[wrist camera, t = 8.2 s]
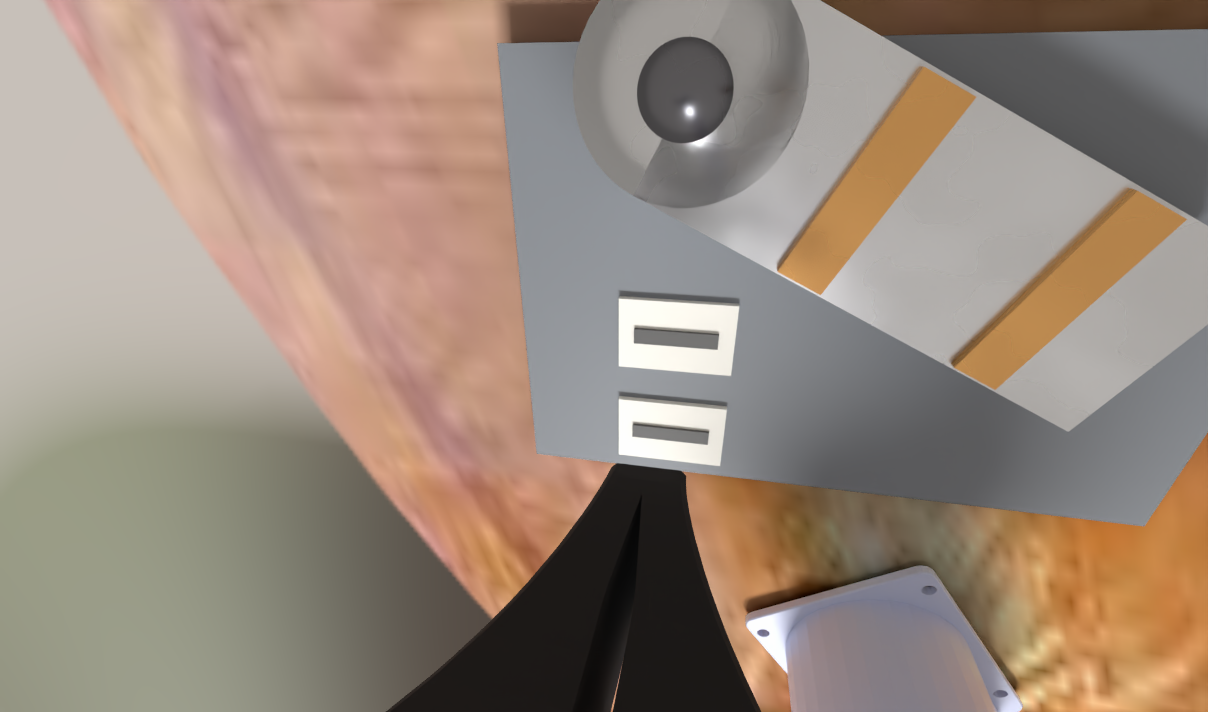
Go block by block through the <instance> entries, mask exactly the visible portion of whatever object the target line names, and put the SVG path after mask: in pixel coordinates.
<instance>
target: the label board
mask: <svg viewBox="0 0 1208 712" xmlns="http://www.w3.org/2000/svg"><path fill="white" fill-rule="evenodd" d="M882 37H884V38H886V39H888V40H889V41H891V42H893V43H895V44H896V45H898V46H900V47H901V48H903V49H905V50H907V51H908V52H910V53H912V54H913V55H915V56H917V57H919V58H920V59H922V60H924V61H925V62H927V63H929V64H931V65H932V66H934V67H936V68H937V69H939V70H941V71H943V72H944V73H946V74H948V75H949V76H951V77H953V78H955V79H956V80H958V81H960V82H962V83H963V84H965V85H967V86H968V87H970V88H972V89H974V90H975V91H977V92H979V93H980V94H982V95H984V96H986V97H987V98H989V99H991V100H992V101H994V102H996V103H998V104H999V105H1001V106H1003V107H1004V108H1006V109H1008V110H1010V111H1011V112H1013V113H1015V114H1017V115H1018V116H1020V117H1022V118H1023V119H1025V120H1027V121H1029V122H1030V123H1032V124H1034V125H1035V126H1037V127H1039V128H1041V129H1042V130H1044V131H1046V132H1047V133H1049V134H1051V135H1053V136H1054V137H1056V138H1058V139H1059V140H1061V141H1063V142H1065V143H1066V144H1068V145H1070V146H1071V147H1073V148H1075V149H1077V150H1078V151H1080V152H1082V153H1084V154H1085V155H1087V156H1089V157H1090V158H1092V159H1094V160H1096V161H1097V162H1099V163H1101V164H1102V165H1104V166H1106V167H1108V168H1109V169H1111V170H1113V171H1114V172H1116V173H1118V174H1120V175H1121V176H1123V177H1125V178H1126V179H1128V180H1130V181H1132V182H1133V183H1135V184H1137V185H1138V186H1140V187H1142V188H1144V189H1145V190H1147V191H1149V192H1151V193H1152V194H1154V195H1156V196H1157V197H1159V198H1161V199H1163V200H1164V201H1166V202H1168V203H1169V204H1171V205H1173V206H1175V207H1176V208H1178V209H1180V210H1181V211H1183V212H1185V213H1187V214H1188V215H1190V216H1192V217H1193V218H1195V219H1197V220H1199V221H1200V222H1202V223H1204V224H1205V225H1207V226H1208V29H1188V30H1138V31H1088V32H1039V33H989V34H939V35H890V36H882ZM497 45H498V55H499V65H500V76H501V86H502V97H503V107H504V117H505V128H506V138H507V149H508V159H509V170H510V180H511V190H512V201H513V211H514V222H515V232H516V242H517V253H518V263H519V274H520V284H521V294H522V305H523V315H524V326H525V336H526V346H527V357H528V367H529V378H530V388H531V399H532V409H533V419H534V430H535V440H536V451H537V454H543V455H552V456H560V457H569V458H577V459H585V460H594V461H602V462H610V463H621V464H630V465H638V466H647V467H655V468H663V469H672V470H680V471H686V472H694V473H702V474H711V475H719V476H728V477H736V478H744V479H753V480H761V481H769V482H778V483H786V484H794V485H803V486H811V487H820V488H828V489H836V490H845V491H853V492H861V493H870V494H878V495H887V496H895V497H903V498H912V499H920V500H928V501H937V502H945V503H953V504H962V505H970V506H979V507H987V508H995V509H1004V510H1012V511H1020V512H1029V513H1037V514H1046V515H1054V516H1062V517H1071V518H1079V519H1087V520H1096V521H1104V522H1112V523H1121V524H1129V525H1138V526H1145V524H1146V523H1147V521H1148V520H1149V519H1150V517H1151V516H1152V514H1153V513H1154V511H1155V510H1156V508H1157V507H1158V505H1159V504H1160V502H1161V501H1162V499H1163V498H1164V496H1165V495H1166V493H1167V492H1168V490H1169V489H1170V487H1171V486H1172V484H1173V483H1174V481H1175V480H1176V478H1177V477H1178V475H1179V474H1180V472H1181V471H1182V470H1183V468H1184V467H1185V465H1186V464H1187V462H1188V461H1189V459H1190V458H1191V456H1192V455H1193V453H1194V452H1195V450H1196V449H1197V447H1198V446H1199V444H1200V443H1201V441H1202V440H1203V438H1204V437H1205V435H1206V434H1207V432H1208V325H1206V326H1205V327H1204V328H1203V329H1201V330H1200V331H1199V332H1197V333H1196V334H1195V335H1193V336H1192V337H1191V338H1190V339H1188V340H1187V341H1186V342H1184V343H1183V344H1182V345H1180V346H1179V347H1178V348H1177V349H1175V350H1174V351H1173V352H1171V353H1170V354H1169V355H1168V356H1166V357H1165V358H1164V359H1162V360H1161V361H1160V362H1158V363H1157V364H1156V365H1155V366H1153V367H1152V368H1151V369H1149V370H1148V371H1147V372H1145V373H1144V374H1143V375H1142V376H1140V377H1139V378H1138V379H1136V380H1135V381H1134V382H1132V383H1131V384H1130V385H1129V386H1127V387H1126V388H1125V389H1123V390H1122V391H1121V392H1119V393H1118V394H1117V395H1116V396H1114V397H1113V398H1112V399H1110V400H1109V401H1108V402H1106V403H1105V404H1104V405H1103V406H1101V407H1100V408H1099V409H1097V410H1096V411H1095V412H1094V413H1092V414H1091V415H1090V416H1088V417H1087V418H1086V419H1084V420H1083V421H1082V422H1081V423H1079V424H1078V425H1077V426H1075V427H1074V428H1073V429H1071V430H1070V431H1069V432H1068V431H1066V430H1064V429H1062V428H1060V427H1058V426H1057V425H1055V424H1053V423H1051V422H1049V421H1047V420H1045V419H1044V418H1042V417H1040V416H1038V415H1036V414H1034V413H1033V412H1031V411H1029V410H1027V409H1025V408H1023V407H1022V406H1020V405H1018V404H1016V403H1014V402H1012V401H1010V400H1009V399H1007V398H1005V397H1003V396H1001V395H999V394H998V393H996V392H994V391H992V390H990V389H988V388H987V387H985V386H983V385H981V384H979V383H977V382H975V381H974V380H972V379H970V378H968V377H966V376H964V375H963V374H961V373H959V372H957V371H955V370H953V369H951V368H950V367H948V366H946V365H944V364H942V363H940V362H939V361H937V360H935V359H933V358H931V357H929V356H928V355H926V354H924V353H922V352H920V351H918V350H916V349H915V348H913V347H911V346H909V345H907V344H905V343H904V342H902V341H900V340H898V339H896V338H894V337H893V336H891V335H889V334H887V333H885V332H883V331H881V330H880V329H878V328H876V327H874V326H872V325H870V324H869V323H867V322H865V321H863V320H861V319H859V318H858V317H856V316H854V315H852V314H850V313H848V312H846V311H845V310H843V309H841V308H839V307H837V306H835V305H834V304H832V303H830V302H828V301H826V300H824V299H823V298H821V297H819V296H817V295H815V294H813V293H811V292H810V291H808V290H806V289H804V288H802V287H800V286H799V285H797V284H795V283H793V282H791V281H789V280H787V279H786V278H784V277H782V276H780V275H778V274H776V273H775V272H773V271H771V270H769V269H767V268H765V267H764V266H762V265H760V264H758V263H756V262H754V261H752V260H751V259H749V258H747V257H745V256H743V255H741V254H740V253H738V252H736V251H734V250H732V249H730V248H729V247H727V246H725V245H723V244H721V243H719V242H717V241H716V240H714V239H712V238H710V237H708V236H706V235H705V234H703V233H701V232H699V231H697V230H695V229H694V228H692V227H690V226H688V225H686V224H684V223H682V222H681V221H679V220H677V219H675V218H673V217H671V216H670V215H668V214H666V213H664V212H662V211H660V210H659V209H657V208H655V207H653V206H651V205H649V204H647V203H646V202H644V201H642V200H640V199H638V198H636V197H635V196H633V195H631V194H630V193H628V192H626V191H625V190H623V189H622V188H620V187H619V186H618V185H617V184H616V183H614V182H613V181H612V180H611V179H610V178H609V177H608V176H607V175H606V174H605V173H604V172H603V171H602V170H601V168H600V167H599V166H598V164H597V163H596V161H595V160H594V159H593V157H592V155H591V154H590V152H589V150H588V148H587V146H586V145H585V142H584V140H583V137H582V135H581V132H580V129H579V126H578V122H577V119H576V114H575V108H574V101H573V72H574V64H575V58H576V53H577V49H578V46H579V42H542V43H497Z"/></svg>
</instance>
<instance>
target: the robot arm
mask: <svg viewBox="0 0 1208 712" xmlns="http://www.w3.org/2000/svg"><path fill="white" fill-rule="evenodd" d="M745 621H746V627H747V628H748V629H749V631H750V632H751V633H752V634H753V635H754V636H755V637H756V639H757V640H758V641H759V642H760V643H761V644H762V646H763V647H764V648H765V649H766V650H767V651H768V652H769V654H770V655H771V656H772V657H773V658H774V659H775V660H776V662H777V663H778V664H779V665H780V666H781V667H782V668H783V670H784V671H785V672H786V673H787V674H788V683H789V692H790V702H791V712H1018V711H1020V710H1021V709H1022V707H1023V705H1022V703H1021V700H1020V698H1019V696H1018V695H1017V693H1016V692H1015V690H1014V689H1013V687H1012V686H1011V684H1010V683H1009V681H1008V680H1007V678H1006V677H1005V675H1004V674H1003V672H1002V671H1001V669H1000V668H999V666H998V665H997V663H996V662H995V660H994V659H993V658H992V656H991V655H990V653H989V652H988V650H987V649H986V647H985V646H984V644H983V643H982V641H981V640H980V638H979V637H978V635H977V634H976V632H975V631H974V629H973V628H972V626H971V625H970V623H969V622H968V620H967V619H966V617H965V616H964V614H963V613H962V611H961V610H960V608H959V607H958V605H957V604H956V603H955V601H954V600H953V598H952V597H951V595H950V594H949V592H948V591H947V589H946V588H945V586H944V585H943V583H942V582H941V580H940V579H939V577H938V576H937V574H936V573H935V571H934V570H933V569H932V568H930V567H927V566H922V565H919V566H914V567H910V568H907V569H903V570H899V571H896V572H892V573H889V574H885V575H882V576H878V577H874V578H871V579H867V580H864V581H860V582H857V583H853V584H849V585H846V586H842V587H839V588H835V589H832V590H828V591H824V592H821V593H817V594H814V595H810V596H807V597H803V598H799V599H796V600H792V601H789V602H785V603H782V604H778V605H774V606H771V607H767V608H764V609H760V610H756V611H753V612H750V613H748V614H747V615H746V618H745ZM623 658H624V659H623ZM622 662H623V664H622ZM621 666H622V669H621ZM620 670H621V674H620ZM619 674H620V679H619ZM618 679H619V684H618V689H617V694H616V699H615V704H614V709H613V712H761V710H760V708H759V706H758V704H757V702H756V700H755V697H754V695H753V693H752V691H751V689H750V687H749V684H748V682H747V680H746V678H745V676H744V674H743V671H742V669H741V667H740V664H739V662H738V660H737V657H736V655H735V653H734V650H733V648H732V646H731V643H730V641H729V638H728V636H727V633H726V631H725V628H724V626H723V623H722V621H721V618H720V615H719V613H718V610H717V607H716V604H715V601H714V599H713V596H712V593H711V590H710V587H709V584H708V581H707V578H706V575H705V572H704V568H703V565H702V561H701V558H700V554H699V551H698V547H697V544H696V540H695V536H694V532H693V528H692V523H691V518H690V514H689V508H688V502H687V494H686V476H685V475H684V473H683V472H682V471H680V470H672V469H663V468H655V467H647V466H638V465H630V464H621V463H617V464H615V465H614V466H613V467H612V468H611V469H610V471H609V473H608V475H607V477H606V479H605V480H604V482H603V484H602V485H601V487H600V489H599V490H598V492H597V493H596V495H595V496H594V498H593V499H592V501H591V502H590V504H589V505H588V507H587V508H586V510H585V511H584V513H583V514H582V515H581V517H580V518H579V519H578V521H577V522H576V523H575V525H574V526H573V527H572V529H571V530H570V531H569V533H568V534H567V535H566V537H565V538H564V539H563V541H562V542H561V543H560V545H559V546H558V547H557V548H556V550H555V551H554V552H553V553H552V554H551V555H550V557H549V558H548V559H547V560H546V561H545V563H544V564H543V565H542V566H541V567H540V569H539V570H538V571H537V572H536V573H535V574H534V576H533V577H532V578H531V579H530V580H529V581H528V583H527V584H526V585H525V586H524V587H523V588H522V589H521V590H520V591H519V592H518V593H517V595H516V596H515V597H514V598H513V599H512V600H511V601H510V602H509V603H508V604H507V605H506V606H505V607H504V608H503V609H502V610H501V611H500V612H499V613H498V614H497V615H496V616H495V617H494V618H493V619H492V620H491V621H490V622H489V623H488V624H487V625H486V626H485V627H484V628H483V629H482V630H481V631H480V632H479V633H478V634H477V635H476V636H475V637H474V638H472V639H471V640H470V641H469V642H468V643H467V644H466V645H465V646H464V647H463V648H462V649H461V650H459V651H458V652H457V653H456V654H455V655H454V656H453V657H452V658H451V659H449V660H448V661H447V662H446V663H445V664H444V665H443V666H441V667H440V668H439V669H438V670H437V671H436V672H435V673H434V674H432V675H431V676H430V677H429V678H427V679H426V680H425V681H424V682H422V683H421V684H420V685H419V686H417V687H416V688H415V689H414V690H412V691H411V692H410V693H409V694H407V695H406V696H405V697H404V698H402V699H401V700H400V701H399V702H397V703H396V704H395V705H394V706H392V708H390V709H389V710H388V711H386V712H611V708H612V703H613V699H614V695H615V691H616V687H617V683H618Z"/></svg>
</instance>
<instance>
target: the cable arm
mask: <svg viewBox="0 0 1208 712" xmlns="http://www.w3.org/2000/svg"><path fill="white" fill-rule="evenodd" d="M573 101H574V108H575V114H576V119H577V122H578V126H579V129H580V132H581V135H582V137H583V140H584V142H585V145H586V146H587V148H588V150H589V152H590V154H591V155H592V157H593V159H594V160H595V161H596V163H597V164H598V166H599V167H600V168H601V170H602V171H603V172H604V173H605V174H606V175H607V176H608V177H609V178H610V179H611V180H612V181H613V182H614V183H616V184H617V185H618V186H619V187H620V188H622V189H623V190H625V191H626V192H628V193H630V194H631V195H633V196H635V197H636V198H638V199H640V200H642V201H644V202H646V203H647V204H649V205H651V206H653V207H655V208H657V209H659V210H660V211H662V212H664V213H666V214H668V215H670V216H671V217H673V218H675V219H677V220H679V221H681V222H682V223H684V224H686V225H688V226H690V227H692V228H694V229H695V230H697V231H699V232H701V233H703V234H705V235H706V236H708V237H710V238H712V239H714V240H716V241H717V242H719V243H721V244H723V245H725V246H727V247H729V248H730V249H732V250H734V251H736V252H738V253H740V254H741V255H743V256H745V257H747V258H749V259H751V260H752V261H754V262H756V263H758V264H760V265H762V266H764V267H765V268H767V269H769V270H771V271H773V272H775V273H776V274H778V275H780V276H782V277H784V278H786V279H787V280H789V281H791V282H793V283H795V284H797V285H799V286H800V287H802V288H804V289H806V290H808V291H810V292H811V293H813V294H815V295H817V296H819V297H821V298H823V299H824V300H826V301H828V302H830V303H832V304H834V305H835V306H837V307H839V308H841V309H843V310H845V311H846V312H848V313H850V314H852V315H854V316H856V317H858V318H859V319H861V320H863V321H865V322H867V323H869V324H870V325H872V326H874V327H876V328H878V329H880V330H881V331H883V332H885V333H887V334H889V335H891V336H893V337H894V338H896V339H898V340H900V341H902V342H904V343H905V344H907V345H909V346H911V347H913V348H915V349H916V350H918V351H920V352H922V353H924V354H926V355H928V356H929V357H931V358H933V359H935V360H937V361H939V362H940V363H942V364H944V365H946V366H948V367H950V368H951V369H953V370H955V371H957V372H959V373H961V374H963V375H964V376H966V377H968V378H970V379H972V380H974V381H975V382H977V383H979V384H981V385H983V386H985V387H987V388H988V389H990V390H992V391H994V392H996V393H998V394H999V395H1001V396H1003V397H1005V398H1007V399H1009V400H1010V401H1012V402H1014V403H1016V404H1018V405H1020V406H1022V407H1023V408H1025V409H1027V410H1029V411H1031V412H1033V413H1034V414H1036V415H1038V416H1040V417H1042V418H1044V419H1045V420H1047V421H1049V422H1051V423H1053V424H1055V425H1057V426H1058V427H1060V428H1062V429H1064V430H1066V431H1068V432H1069V431H1070V430H1071V429H1073V428H1074V427H1075V426H1077V425H1078V424H1079V423H1081V422H1082V421H1083V420H1084V419H1086V418H1087V417H1088V416H1090V415H1091V414H1092V413H1094V412H1095V411H1096V410H1097V409H1099V408H1100V407H1101V406H1103V405H1104V404H1105V403H1106V402H1108V401H1109V400H1110V399H1112V398H1113V397H1114V396H1116V395H1117V394H1118V393H1119V392H1121V391H1122V390H1123V389H1125V388H1126V387H1127V386H1129V385H1130V384H1131V383H1132V382H1134V381H1135V380H1136V379H1138V378H1139V377H1140V376H1142V375H1143V374H1144V373H1145V372H1147V371H1148V370H1149V369H1151V368H1152V367H1153V366H1155V365H1156V364H1157V363H1158V362H1160V361H1161V360H1162V359H1164V358H1165V357H1166V356H1168V355H1169V354H1170V353H1171V352H1173V351H1174V350H1175V349H1177V348H1178V347H1179V346H1180V345H1182V344H1183V343H1184V342H1186V341H1187V340H1188V339H1190V338H1191V337H1192V336H1193V335H1195V334H1196V333H1197V332H1199V331H1200V330H1201V329H1203V328H1204V327H1205V326H1206V325H1208V226H1207V225H1205V224H1204V223H1202V222H1200V221H1199V220H1197V219H1195V218H1193V217H1192V216H1190V215H1188V214H1187V213H1185V212H1183V211H1181V210H1180V209H1178V208H1176V207H1175V206H1173V205H1171V204H1169V203H1168V202H1166V201H1164V200H1163V199H1161V198H1159V197H1157V196H1156V195H1154V194H1152V193H1151V192H1149V191H1147V190H1145V189H1144V188H1142V187H1140V186H1138V185H1137V184H1135V183H1133V182H1132V181H1130V180H1128V179H1126V178H1125V177H1123V176H1121V175H1120V174H1118V173H1116V172H1114V171H1113V170H1111V169H1109V168H1108V167H1106V166H1104V165H1102V164H1101V163H1099V162H1097V161H1096V160H1094V159H1092V158H1090V157H1089V156H1087V155H1085V154H1084V153H1082V152H1080V151H1078V150H1077V149H1075V148H1073V147H1071V146H1070V145H1068V144H1066V143H1065V142H1063V141H1061V140H1059V139H1058V138H1056V137H1054V136H1053V135H1051V134H1049V133H1047V132H1046V131H1044V130H1042V129H1041V128H1039V127H1037V126H1035V125H1034V124H1032V123H1030V122H1029V121H1027V120H1025V119H1023V118H1022V117H1020V116H1018V115H1017V114H1015V113H1013V112H1011V111H1010V110H1008V109H1006V108H1004V107H1003V106H1001V105H999V104H998V103H996V102H994V101H992V100H991V99H989V98H987V97H986V96H984V95H982V94H980V93H979V92H977V91H975V90H974V89H972V88H970V87H968V86H967V85H965V84H963V83H962V82H960V81H958V80H956V79H955V78H953V77H951V76H949V75H948V74H946V73H944V72H943V71H941V70H939V69H937V68H936V67H934V66H932V65H931V64H929V63H927V62H925V61H924V60H922V59H920V58H919V57H917V56H915V55H913V54H912V53H910V52H908V51H907V50H905V49H903V48H901V47H900V46H898V45H896V44H895V43H893V42H891V41H889V40H888V39H886V38H884V37H882V36H881V35H879V34H877V33H876V32H874V31H872V30H870V29H869V28H867V27H865V26H864V25H862V24H860V23H858V22H857V21H855V20H853V19H852V18H850V17H848V16H846V15H845V14H843V13H841V12H840V11H838V10H836V9H834V8H833V7H831V6H829V5H828V4H826V3H824V2H822V1H821V0H600V1H599V2H598V4H597V6H596V7H595V9H594V11H593V12H592V14H591V16H590V17H589V20H588V22H587V24H586V26H585V29H584V31H583V33H582V36H581V39H580V42H579V46H578V49H577V53H576V58H575V64H574V72H573Z"/></svg>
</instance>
